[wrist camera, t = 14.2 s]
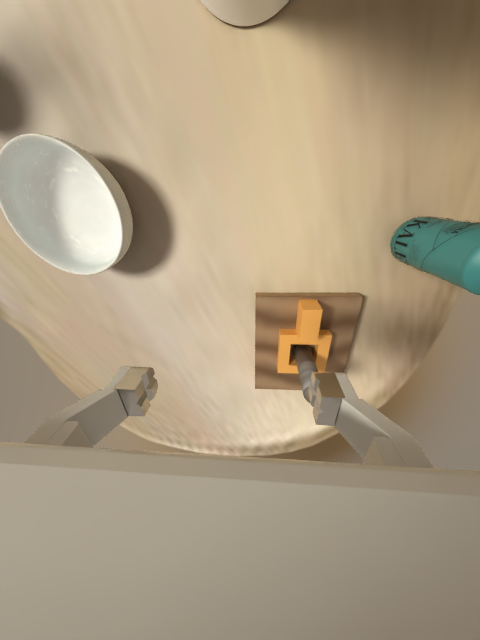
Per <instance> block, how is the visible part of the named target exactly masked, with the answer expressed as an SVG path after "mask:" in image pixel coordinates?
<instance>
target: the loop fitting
mask: <svg viewBox="0 0 480 640" xmlns="http://www.w3.org/2000/svg"><path fill="white" fill-rule="evenodd" d="M322 311H323V310H322V308H321V306H320V304H319V303H318V301H317V300H313V299H299V303H298V312H297V322H296V329H279V343H278V358H277V371H278V373H297V374H299V373H298V369H297V364H296V360H295V359H289V357H290V347H291V344H308V345H315V350H314V356H313V358H314V361H315V364H316V367H317V369H318V372H325V368H326V363H327V358H328V353H329V349H330V344H331V339H332V334H331V332H330V331H329V330H321V329H320V323H321V317H322Z"/></svg>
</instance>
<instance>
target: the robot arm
mask: <svg viewBox="0 0 480 640" xmlns="http://www.w3.org/2000/svg"><path fill="white" fill-rule="evenodd" d="M200 1H201V2H202V3H203V5H204V6H205V7H206V8H207V9H208V10H209V11H210V12H211V13H212V14H213V15H215V16H216V17H217V18H219V19H220V20H222V21H224V22H226V23H229V24H232V25H236V26H252V25H256V24H259V23H262V22H264V21H266V20H268V19H269V18H271V17H272V16H274V15H275V14H276V13H278V12H279V11H280V10H281V9H282V8H283V7H284V6H285V5H286V4H287V3H288V1H289V0H200ZM154 374H155V373H154V370H153V368H151V367H129V366H124V367H121V368H120V370H119V371H118V372H117V373H116V374H115V376H114V377H113V378H112V379H111V381H110V382H109V383H108V384H107V385H106V387H105V388H104V389H100V390H98V391H96V392H94V393H92V394H91V395H89V396H87V397H85V398H83V399H82V400H80V401H78V402H76V403H75V404H73V405H71V406H69V407H67V408H66V409H64V410H62V411H60V412H58V413H57V414H55V415H53V416H51V417H49V418H48V419H46V421H45V422H44V423H43V424H42V425H41V426H40V427H39V428H38V429H37V430H36V431H35V432H34V433H33V434H32V435H31V436H30V437H29V438H28V439H27V440H26V441H25V442H24V443H10V442H0V640H480V471H467V470H450V469H435V468H434V467H433V465H432V464H431V462H430V461H429V459H428V458H427V456H426V455H425V453H424V451H423V450H422V448H421V447H420V446H419V444H418V442H417V441H416V439H415V438H414V437H413V436H411V435H410V434H409V433H407V432H406V431H405V430H403V429H402V428H401V427H399V426H398V425H397V424H395V423H394V422H392V421H391V420H390V419H388V418H387V417H386V416H384V415H383V414H382V413H380V412H379V411H378V410H376V409H375V408H373V407H372V406H371V405H369V404H368V403H367V402H365V401H364V400H363V399H358V397H357V395H356V393H355V391H354V389H353V387H352V385H351V383H350V381H349V379H348V377H347V375H346V374H345V373H325V372H313V373H312V375H311V380H312V383H311V384H310V387H309V398H310V403H311V405H312V406H313V407H314V408H313V415H314V419H315V423H316V425H329V426H335V428H336V429H337V430H338V431H339V432H340V433H341V435H342V436H343V437H344V438H345V439H346V440H347V441H348V442H349V443H350V444H351V446H352V447H353V448H354V449H355V450H356V451H357V452H358V454H359V455H360V456H361V457H362V458H363V459H364V461H363V464H353V463H337V462H321V461H304V460H287V459H270V458H255V457H238V456H222V455H206V454H190V453H173V452H156V451H140V450H124V449H108V448H93V446H94V445H95V444H96V443H98V442H99V441H100V440H101V439H102V438H103V437H105V436H106V435H107V434H108V433H109V432H110V431H112V430H113V429H114V428H115V427H117V426H118V425H119V424H120V423H121V422H122V421H124V420H125V419H126V418H127V417H128V416H145V414H146V412H147V410H148V409H149V407H150V402H149V401H151V400H152V399H153V398H154V397H155V395H156V393H157V388H158V384H157V380H156V379H155V378H154V377H153V375H154Z"/></svg>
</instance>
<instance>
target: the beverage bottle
mask: <svg viewBox="0 0 480 640" xmlns="http://www.w3.org/2000/svg"><path fill="white" fill-rule="evenodd" d="M439 218H440V217H439ZM439 218H438V219H437V217H436V218H435V217H434V218H433V217H432V218H431V217H430V216H427V217H423V216H422V217H418V218H416V217H415V218H414V219H411V220H409V221H407V222H405V223H404V224H402V225H401V226H400V227H399V228H398V229H397V230H396V232H395V233H394V235H393V237H392V239H391V244H390V247H391V252H392V253H393V254H392V255H394V256H395V257H396V258H397V259H399V261H400V260H401V262H402V261H403V263H404V262H405V263H407V265H408V264H410V265H412V266H414V267H413V268H415V267H416V268H415V269H417V268H418V269H420V270H423V271H425V272H428V273H431V274H433V275H435V276H437V277H440V278H442V279H444V280H446V281H448V282H451V283H453V284H455V285H457V286H460V287H462V288H464V289H466V290H468V291H469V292H471V293H474V294H477V295H480V223H476V222H475V223H470V222H468V221H467V220H465V221H467V222H465V221H464V222H461V221H459V220H457V221H453V220H452V219H451V220H449V219H448V218H446V220H444V219H439ZM447 219H448V220H447ZM395 257H394V258H395ZM396 258H395V259H396ZM420 270H419V271H420Z"/></svg>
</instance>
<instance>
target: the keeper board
mask: <svg viewBox="0 0 480 640" xmlns="http://www.w3.org/2000/svg"><path fill="white" fill-rule="evenodd" d="M299 299H313V300H317V301H318V303H319V304H320V306H321V308H322V310H323V311H322V317H321V323H320V329H321V330H329V331H330V332H331V334H332V339H331V344H330V349H329V353H328V358H327V363H326V368H325V373H344V369H345V365H346V361H347V358H348V354H349V350H350V346H351V342H352V338H353V335H354V331H355V327H356V323H357V319H358V315H359V312H360V308H361V304H362V300H363V297H362V296H361V295H360V294H359V293H256V333H255V389H284V390H302V391H303V395H304V398H305V399H306V400H307V401H308V402H309V403H310V398H309V387H310V384H311V383H312V380H311V375H312V373H313V372H318V369H317V367H316V364H315V361H314V358H313V356H314V350H315V345H308V344H291V347H290V357H289V359H295V360H296V364H297V369H298V373H299V374H297V373H278V371H277V358H278V343H279V329H296V322H297V312H298V303H299Z"/></svg>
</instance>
